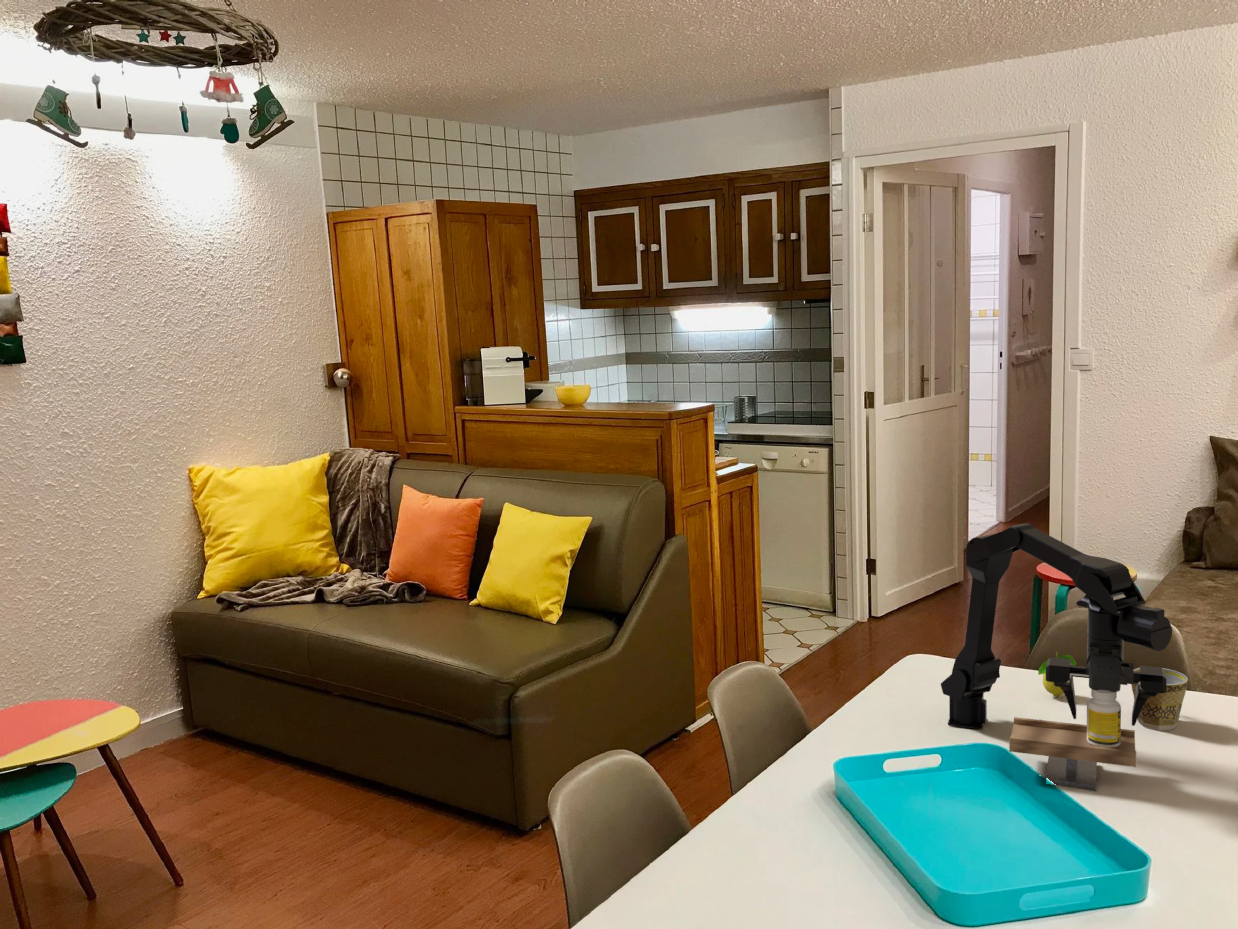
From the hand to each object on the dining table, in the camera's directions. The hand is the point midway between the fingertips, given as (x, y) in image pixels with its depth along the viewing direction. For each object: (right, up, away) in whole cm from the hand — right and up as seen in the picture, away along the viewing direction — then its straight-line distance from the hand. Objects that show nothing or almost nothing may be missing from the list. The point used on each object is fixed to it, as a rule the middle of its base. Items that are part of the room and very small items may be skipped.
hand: (1103, 721), depth 179 cm
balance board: (-4, -5, +3) cm, 7 cm away
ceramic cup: (+22, -6, +24) cm, 33 cm away
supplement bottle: (0, -4, +1) cm, 4 cm away
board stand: (-4, -10, +4) cm, 12 cm away
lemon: (+9, -5, +39) cm, 41 cm away
